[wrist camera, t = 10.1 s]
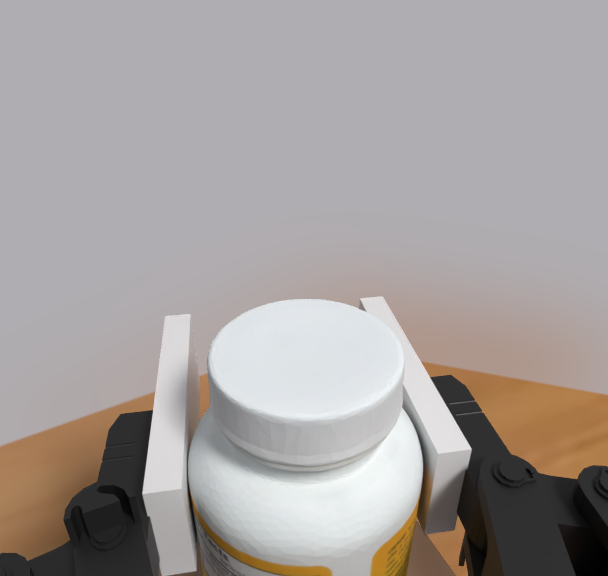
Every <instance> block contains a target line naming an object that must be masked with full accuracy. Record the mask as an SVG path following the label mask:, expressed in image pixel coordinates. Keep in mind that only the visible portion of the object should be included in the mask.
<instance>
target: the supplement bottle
mask: <svg viewBox="0 0 608 576" xmlns="http://www.w3.org/2000/svg"><path fill="white" fill-rule="evenodd" d="M207 367H208V368H207V369H208V380H209V390H210V407H209V408H208V410H207V411H206V412H205V414H204V415H203V417H202V419H201V420H200V422H199V424H198V426H197V428H196V430H195V432H194V435H193V438H192V441H191V444H190V449H189V456H188V483H189V491H190V498H191V502H192V508H193V514H194V520H195V525H196V531H197V537H198V543H199V551H200V557H201V564H202V569H203V575H204V576H407V570H408V563H409V558H410V552H411V546H412V539H413V533H414V528H415V522H416V517H417V510H418V504H419V498H420V493H421V486H422V478H423V456H422V450H421V445H420V441H419V438H418V435H417V432H416V430H415V427H414V425H413V423H412V422H411V420H410V418H409V416H408V415H407V413H406V412H405V411H404V409H403V408H402V404H403V381H404V370H405V359H404V353H403V349H402V346H401V344H400V341H399V339H398V338H397V337H396V335H395V334H394V332H393V331H392V330H391V329H390V328H389V327H388V326H387V325H385V324H384V323H383V322H382V321H380V320H379V319H378V318H376V317H374V316H372V315H371V314H369V313H367V312H365V311H363V310H361V309H358V308H356V307H353V306H350V305H347V304H343V303H339V302H334V301H328V300H319V299H292V300H284V301H278V302H273V303H269V304H265V305H262V306H259V307H257V308H253V309H251V310H249V311H246V312H244V313H243V314H241V315H239V316H238V317H236V318H235V319H233V320H232V321H230V322H229V323H228V324H226V325H225V326H224V327H223V328H222V329H221V330H220V331H219V332H218V333H217V335H216V336H215V338H214V340H213V341H212V343H211V346H210V349H209V353H208V358H207Z"/></svg>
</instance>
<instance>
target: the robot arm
mask: <svg viewBox="0 0 608 576" xmlns="http://www.w3.org/2000/svg"><path fill="white" fill-rule="evenodd" d="M359 309H361V310H363V311H365V312H367V313H369V314H371V315H372V316H374V317H376V318H378V319H379V320H380V321H382V322H383V323H384V324H385V325H387V326H388V327H389V328H390V329H391V330H392V331H393V332H394V334H395V335H396V337H397V338H398V339H399V341H400V344H401V346H402V349H403V353H404V359H405V370H404V381H403V404H402V408H403V409H404V411H405V412H406V413H407V415H408V416H409V418H410V420H411V422H412V423H413V425H414V427H415V430H416V432H417V435H418V438H419V441H420V445H421V450H422V456H423V478H422V486H421V493H420V498H419V504H418V510H417V518H418V520H419V523H420V525H421V528H422V530H423V533H424V535H427V534H433V533H439V532H446V531H452V530H455V525H456V520H457V516H459V518H460V520H461V522H462V524H463V526H464V528H465V534H464V539H463V543H462V547H461V552H460V556H459V566H464V562H465V558H466V564H467V570H468V575H469V576H608V467H607V466H595V465H593V466H590V467H587V468H584V469H583V470H582V472H581V473H580V474H579V476H578V479H570V478H563V477H556V476H549V475H545V474H540V473H538V472H537V470H536V469H535V468H534V467H533V466H532V465H531V464H529V463H528V462H527V461H525V460H523V459H521V458H519V457H517V456H515V455H511V453H510V452H509V451H508V449H507V448H506V446H505V445H504V443H503V442H502V440H501V439H500V437H499V436H498V434H497V433H496V431H495V430H494V428H493V427H492V425H491V424H490V422H489V421H488V419H487V418H486V416H485V414H484V413H482V410H481V408H480V407H479V405H478V404H477V402H475V399H474V398H473V396H472V395H471V393H470V392H469V390H468V389H467V387H466V386H465V385H464V384H462V383H461V382H460V381H458V380H457V379H456V378H454V377H453V376H452V375H446V376H437V377H429V375H428V373H427V372H426V370H425V368H424V366H423V365H422V363H421V361H420V360H419V358H418V356H417V355H416V353H415V351H414V350H413V348H412V346H411V345H410V343H409V341H408V339H407V337H406V336H405V334H404V332H403V331H402V329H401V327H400V325H399V324H398V322H397V320H396V319H395V317H394V315H393V313H392V312H391V310H390V308H389V307H388V305H387V303H386V301H385V300H384V298H383V297H371V298H361V299H360V306H359ZM199 408H200V379H199V373H198V365H197V357H196V350H195V343H194V336H193V328H192V321H191V314H184V315H174V316H165V323H164V331H163V338H162V346H161V354H160V362H159V369H158V377H157V385H156V392H155V400H154V408H153V410H151V411H143V412H134V413H125V414H120V416H119V417H118V418H117V420H116V421H115V422H114V424H113V425H112V426H111V428H110V429H109V432H108V437H107V441H106V449H105V450H104V454H103V459H102V460H103V462H102V463H101V468H100V472H99V477H98V481H97V482H96V483H94V484H92V485H90V486H88V487H86V488H84V489H83V490H81V491H80V492H79V493H78V494H77V495H76V496H74V497H73V498H72V500H71V501H70V503H69V505H68V506H67V508H66V510H65V515H64V523H65V526H66V529H67V531H68V534H69V537H70V539H71V540H70V541H68V542H67V543H66V544H64V545H62V546H60V547H58V548H57V549H55V550H53V551H50V552H48V553H46V554H43V555H41V556H39V557H36V558H34V559H32V560H29V561H27V560H26V558H25V557H23V556H21V555H19V554H17V553H1V554H0V576H159V566H160V570H161V574H162V576H168V575H174V574H181V573H187V572H193V571H197V531H196V525H195V520H194V514H193V508H192V502H191V498H190V491H189V483H188V456H189V449H190V444H191V441H192V438H193V435H194V432H195V430H196V428H197V426H198V424H199Z"/></svg>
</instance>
